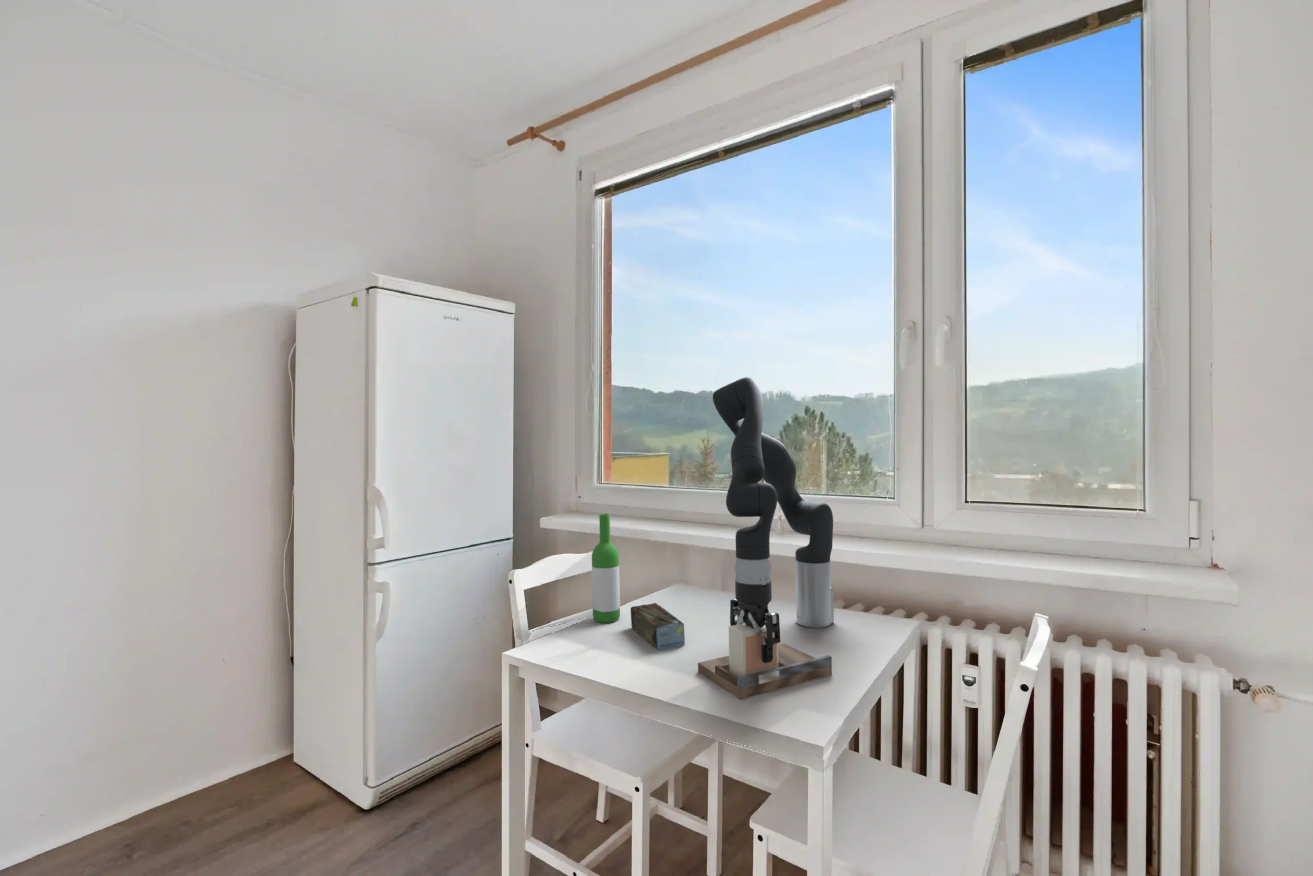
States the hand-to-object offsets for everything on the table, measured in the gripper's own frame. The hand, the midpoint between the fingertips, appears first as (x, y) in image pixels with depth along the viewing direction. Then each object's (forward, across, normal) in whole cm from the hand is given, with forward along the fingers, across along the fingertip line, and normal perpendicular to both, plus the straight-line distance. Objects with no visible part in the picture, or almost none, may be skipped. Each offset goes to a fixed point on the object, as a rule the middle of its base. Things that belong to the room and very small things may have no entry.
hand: (754, 655), depth 127 cm
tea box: (+4, 0, 0) cm, 4 cm away
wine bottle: (+6, -56, -10) cm, 58 cm away
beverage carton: (+6, -36, -4) cm, 37 cm away
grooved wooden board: (+6, -3, +5) cm, 8 cm away
